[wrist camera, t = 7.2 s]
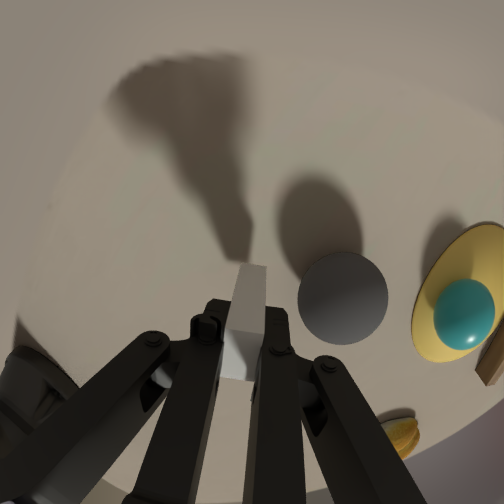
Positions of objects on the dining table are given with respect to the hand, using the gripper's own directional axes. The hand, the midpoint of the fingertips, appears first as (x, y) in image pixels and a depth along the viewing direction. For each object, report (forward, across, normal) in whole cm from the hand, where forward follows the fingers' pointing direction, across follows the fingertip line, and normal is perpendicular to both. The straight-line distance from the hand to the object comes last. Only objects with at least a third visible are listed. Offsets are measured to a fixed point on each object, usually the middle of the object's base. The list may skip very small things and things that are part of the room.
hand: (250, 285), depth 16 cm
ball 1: (-1, +6, 0) cm, 6 cm away
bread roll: (+2, +20, -20) cm, 29 cm away
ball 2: (-1, +16, 0) cm, 16 cm away
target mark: (+2, +20, 0) cm, 20 cm away
